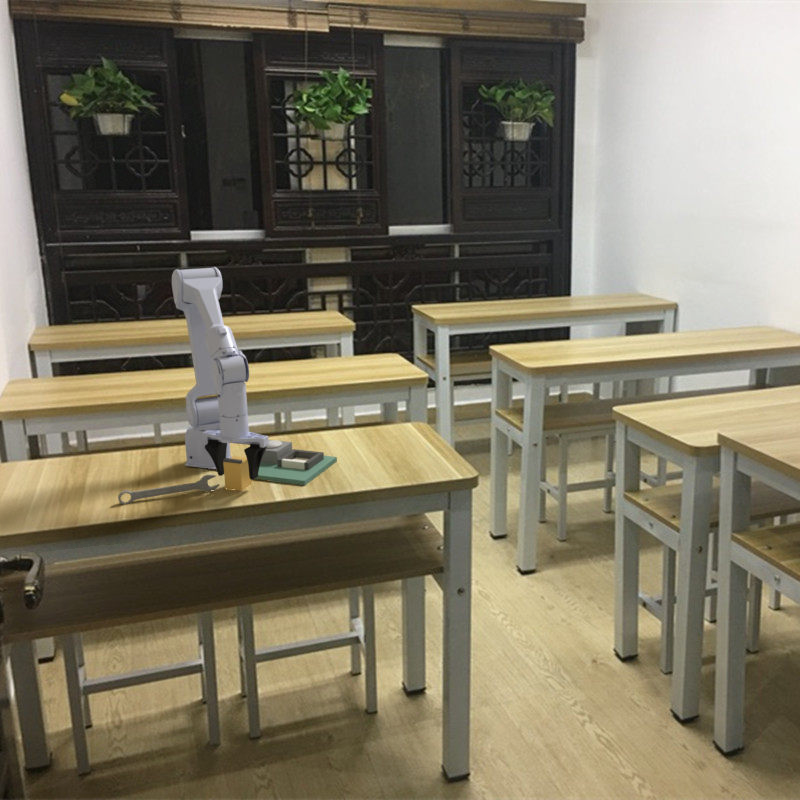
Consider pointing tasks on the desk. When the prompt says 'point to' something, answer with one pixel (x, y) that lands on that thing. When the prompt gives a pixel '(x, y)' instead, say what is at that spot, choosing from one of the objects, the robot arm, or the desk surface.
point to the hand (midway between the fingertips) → (238, 476)
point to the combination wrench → (170, 489)
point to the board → (292, 463)
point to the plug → (236, 473)
